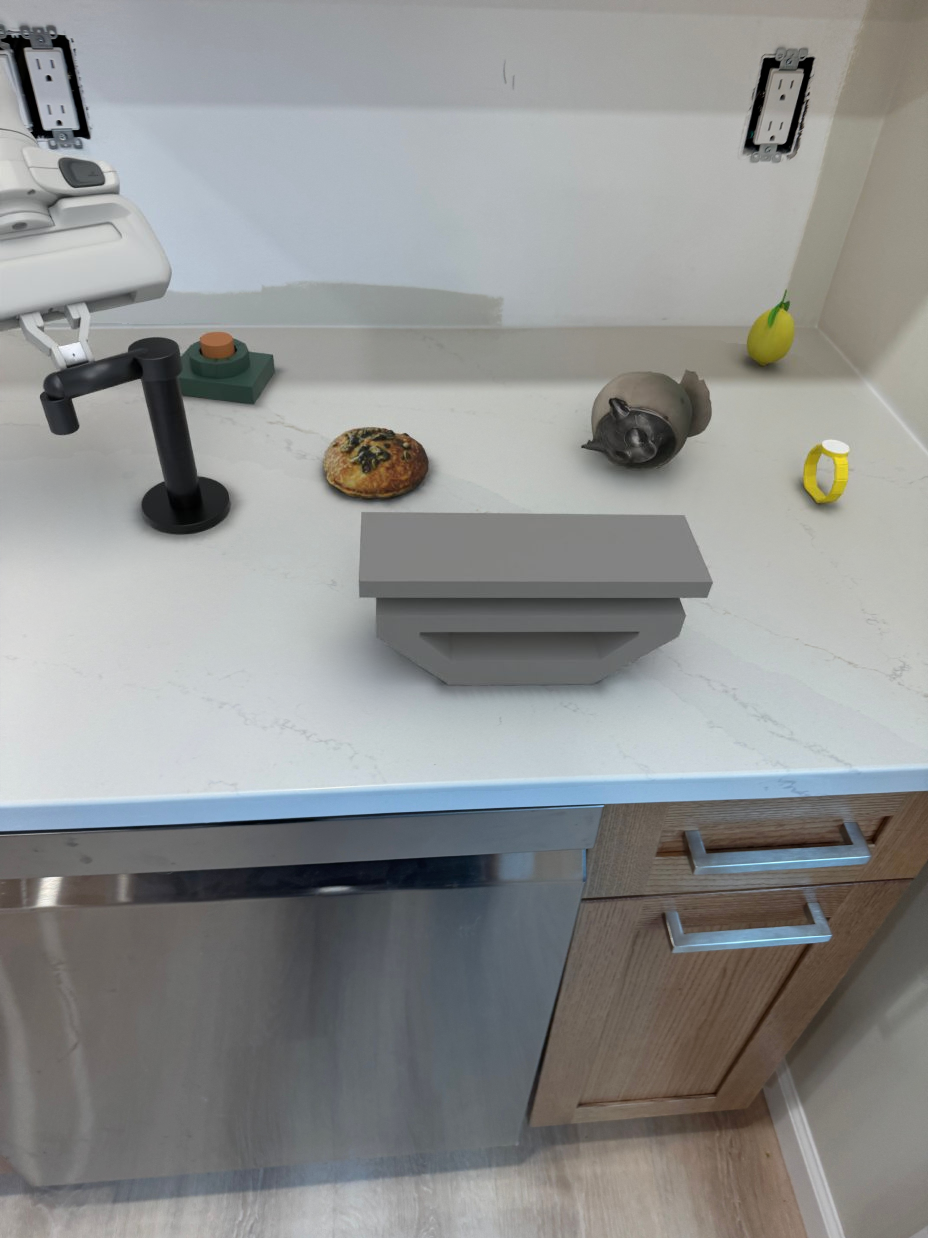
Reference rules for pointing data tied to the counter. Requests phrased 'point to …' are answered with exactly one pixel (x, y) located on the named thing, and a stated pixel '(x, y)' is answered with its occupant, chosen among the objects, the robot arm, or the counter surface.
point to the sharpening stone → (528, 591)
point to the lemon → (771, 334)
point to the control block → (225, 374)
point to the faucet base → (189, 516)
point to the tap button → (217, 345)
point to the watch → (839, 455)
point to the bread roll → (375, 463)
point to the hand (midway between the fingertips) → (78, 369)
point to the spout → (106, 378)
